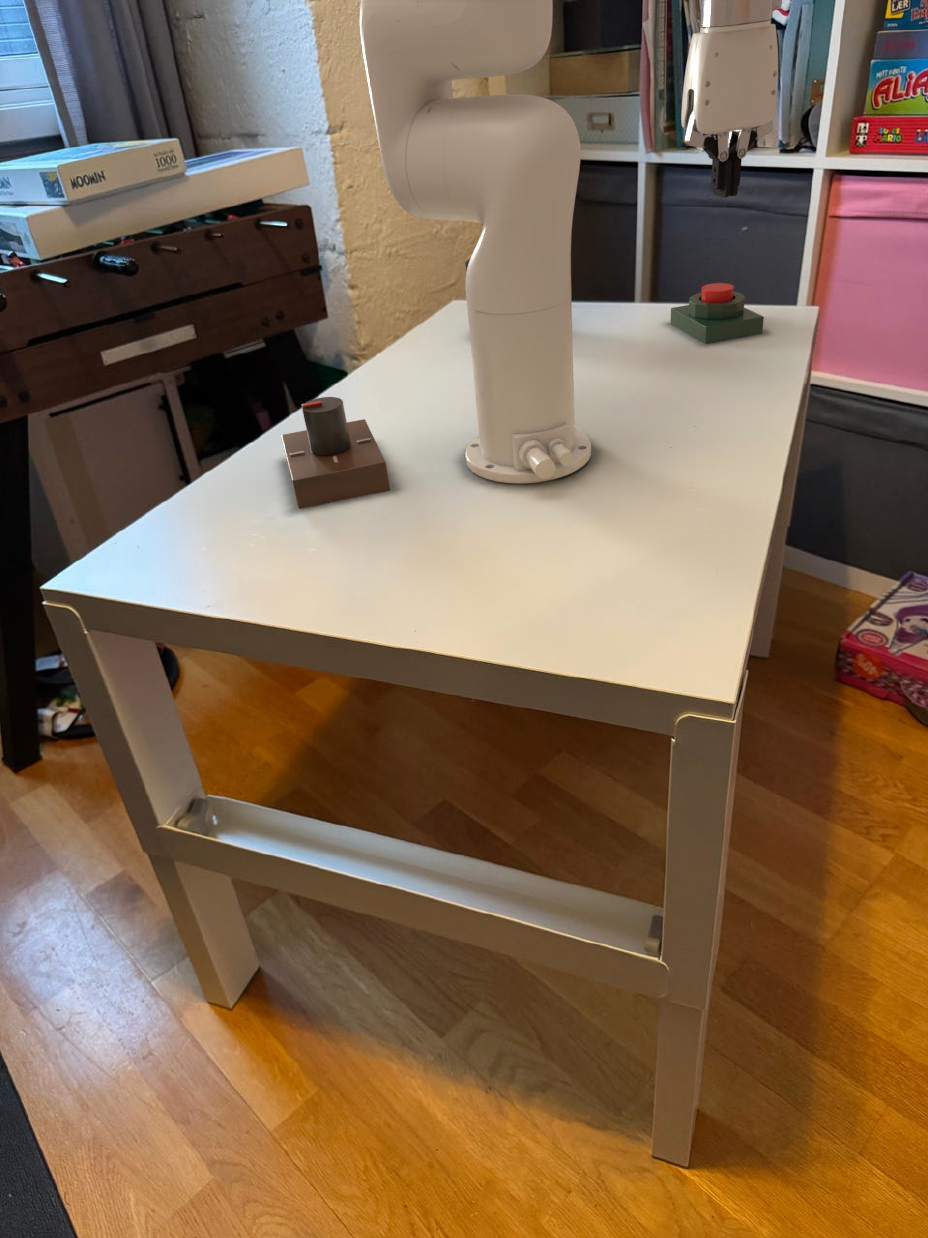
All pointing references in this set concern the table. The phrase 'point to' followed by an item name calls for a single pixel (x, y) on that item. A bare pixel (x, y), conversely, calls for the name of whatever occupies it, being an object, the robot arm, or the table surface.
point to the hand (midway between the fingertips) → (724, 194)
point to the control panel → (335, 468)
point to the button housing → (716, 319)
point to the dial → (326, 425)
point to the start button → (717, 293)
